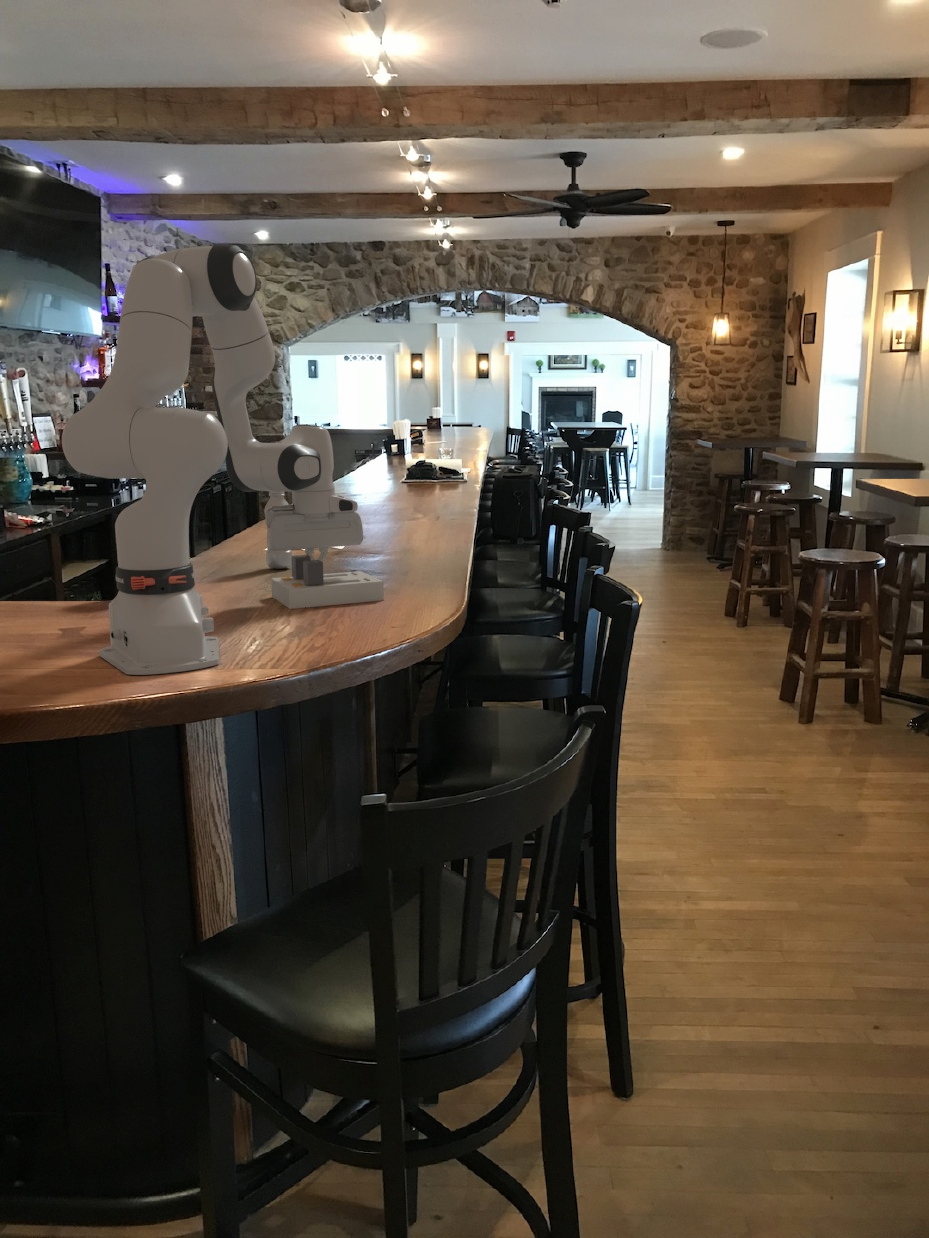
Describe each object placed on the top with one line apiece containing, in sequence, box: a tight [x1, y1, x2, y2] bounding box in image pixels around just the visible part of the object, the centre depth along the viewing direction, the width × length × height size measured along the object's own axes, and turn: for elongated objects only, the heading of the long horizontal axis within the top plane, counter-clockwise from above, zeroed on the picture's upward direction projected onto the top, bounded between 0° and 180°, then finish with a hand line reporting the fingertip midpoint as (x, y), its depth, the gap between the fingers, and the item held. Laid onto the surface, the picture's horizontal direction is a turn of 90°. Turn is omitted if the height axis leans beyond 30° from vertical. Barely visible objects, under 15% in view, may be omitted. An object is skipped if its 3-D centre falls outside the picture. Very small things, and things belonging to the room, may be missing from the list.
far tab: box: [291, 554, 310, 579], centre depth 197 cm, size 3×3×4 cm
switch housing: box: [270, 570, 385, 610], centre depth 196 cm, size 14×20×4 cm
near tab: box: [303, 559, 324, 585], centre depth 190 cm, size 3×3×4 cm
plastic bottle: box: [263, 491, 294, 570], centre depth 231 cm, size 6×7×20 cm
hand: (317, 568), depth 198 cm, fingers closed
